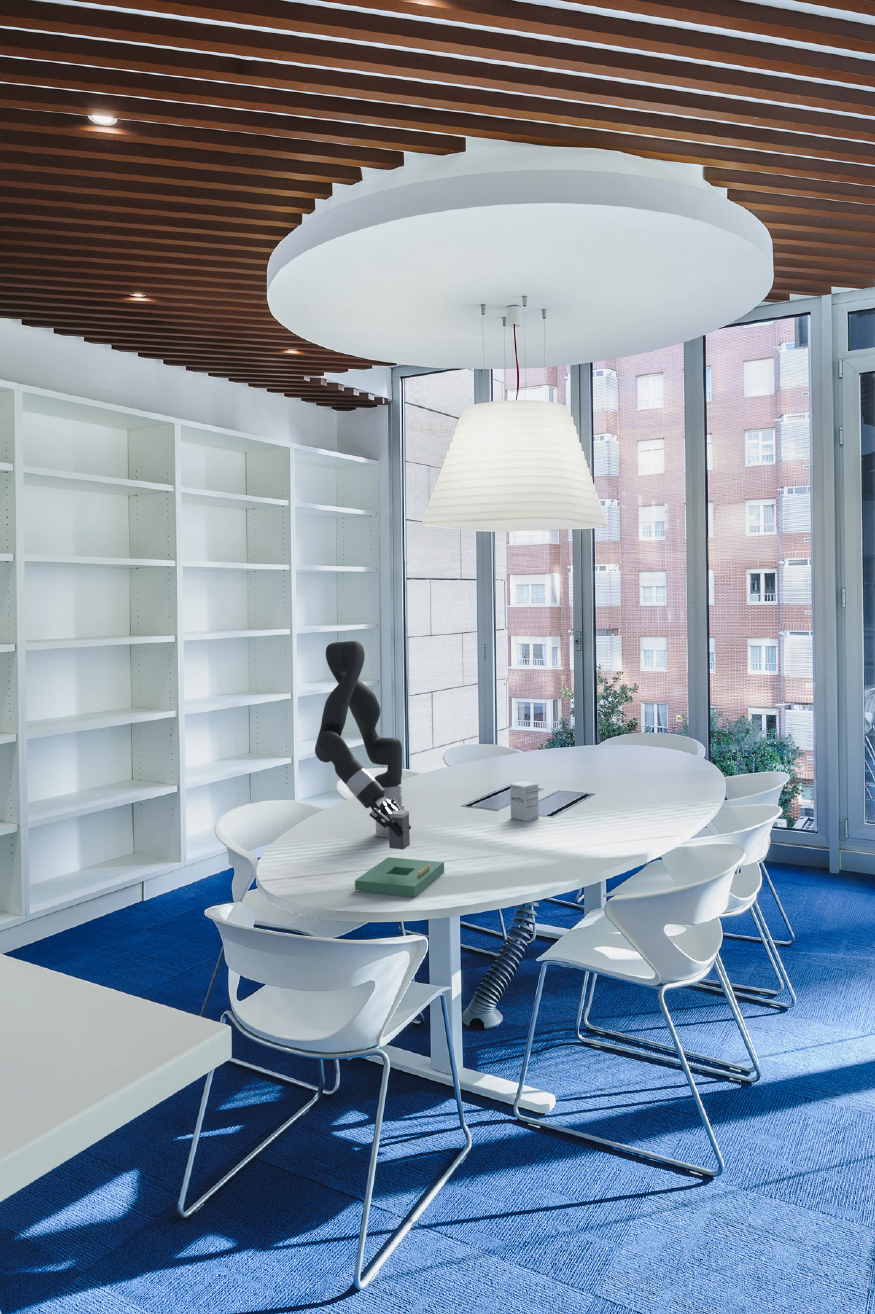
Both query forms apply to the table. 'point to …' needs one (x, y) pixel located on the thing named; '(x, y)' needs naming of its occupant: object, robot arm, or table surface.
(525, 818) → the supplement box
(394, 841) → the black plug
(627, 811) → the table surface
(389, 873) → the socket board
